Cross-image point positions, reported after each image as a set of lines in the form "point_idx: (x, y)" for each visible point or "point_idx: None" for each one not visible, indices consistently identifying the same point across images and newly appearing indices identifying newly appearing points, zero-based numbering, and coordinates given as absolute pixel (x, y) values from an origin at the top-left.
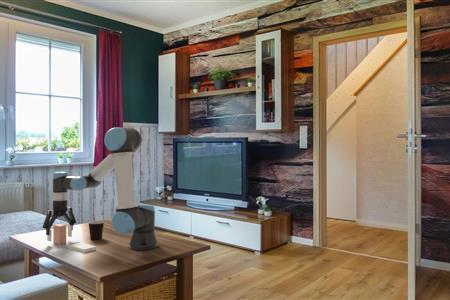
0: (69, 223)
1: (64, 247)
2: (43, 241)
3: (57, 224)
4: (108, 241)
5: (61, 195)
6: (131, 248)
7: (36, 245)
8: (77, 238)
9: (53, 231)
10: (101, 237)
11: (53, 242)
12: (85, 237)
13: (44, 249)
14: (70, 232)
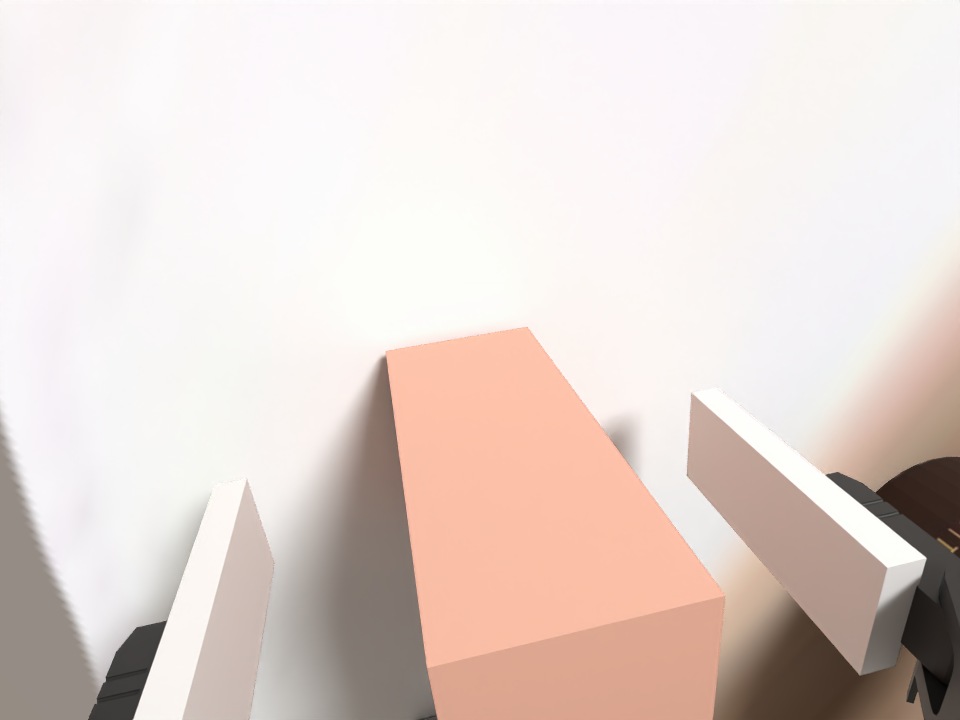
0: (955, 618)
1: (412, 657)
2: (278, 8)
3: (582, 666)
4: (896, 674)
5: None
6: None
7: (36, 272)
8: (843, 301)
9: (404, 495)
10: None
11: (387, 357)
12: (946, 328)
13: (122, 612)
14: (738, 529)
